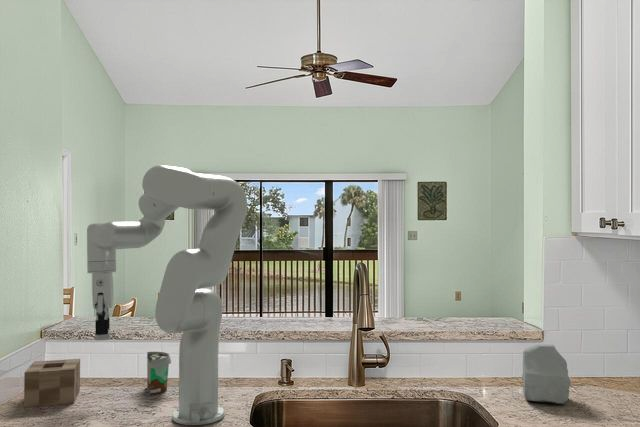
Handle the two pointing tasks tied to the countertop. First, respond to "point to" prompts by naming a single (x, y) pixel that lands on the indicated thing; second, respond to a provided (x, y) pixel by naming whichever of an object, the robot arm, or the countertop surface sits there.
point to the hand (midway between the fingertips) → (102, 332)
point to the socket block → (52, 382)
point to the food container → (157, 372)
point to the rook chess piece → (103, 337)
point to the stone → (545, 374)
